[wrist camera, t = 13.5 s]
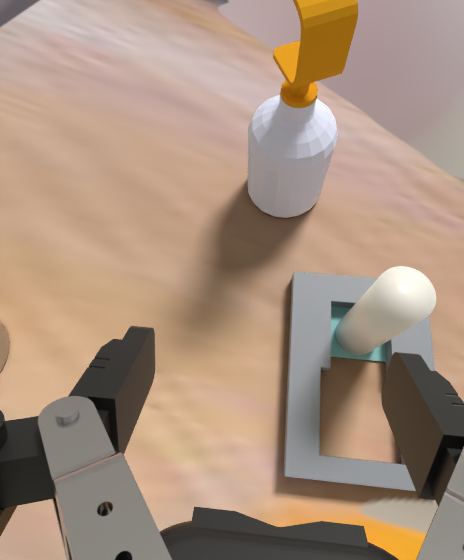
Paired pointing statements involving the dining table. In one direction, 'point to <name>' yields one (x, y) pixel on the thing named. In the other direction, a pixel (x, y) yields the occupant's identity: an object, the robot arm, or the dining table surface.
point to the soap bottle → (300, 112)
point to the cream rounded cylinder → (386, 310)
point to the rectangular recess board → (317, 357)
